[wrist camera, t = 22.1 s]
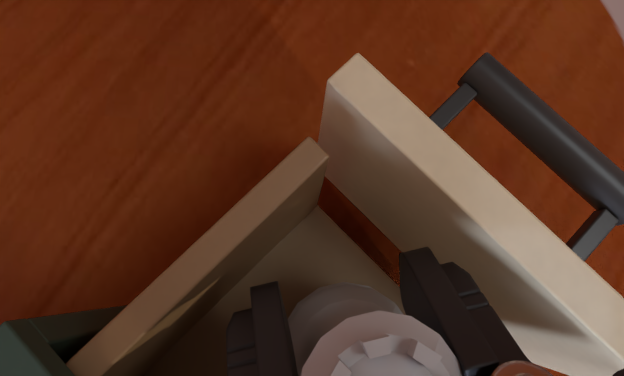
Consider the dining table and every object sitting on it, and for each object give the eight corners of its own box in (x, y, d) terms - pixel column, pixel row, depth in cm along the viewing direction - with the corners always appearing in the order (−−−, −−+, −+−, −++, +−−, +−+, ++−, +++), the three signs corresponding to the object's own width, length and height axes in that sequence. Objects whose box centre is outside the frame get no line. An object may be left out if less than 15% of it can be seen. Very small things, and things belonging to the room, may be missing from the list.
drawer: (402, 81, 21) (474, -56, 13) (590, 254, 20) (815, 233, 11) (97, 371, 18) (-80, 450, 10) (295, 600, 17) (293, 931, 8)
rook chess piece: (341, 255, 16) (383, 227, 8) (436, 346, 16) (578, 408, 8) (251, 351, 15) (204, 421, 7) (348, 450, 15) (407, 638, 7)
